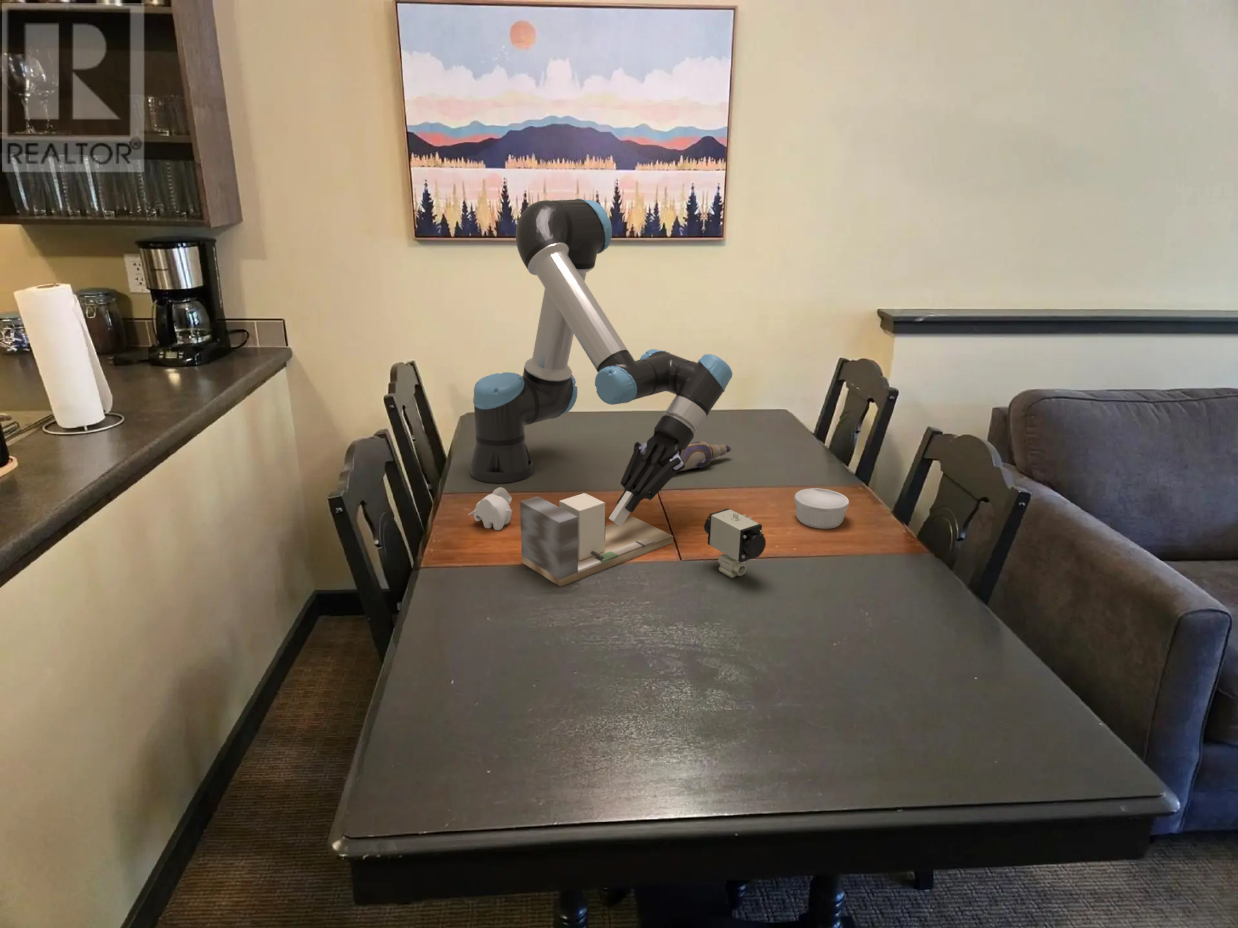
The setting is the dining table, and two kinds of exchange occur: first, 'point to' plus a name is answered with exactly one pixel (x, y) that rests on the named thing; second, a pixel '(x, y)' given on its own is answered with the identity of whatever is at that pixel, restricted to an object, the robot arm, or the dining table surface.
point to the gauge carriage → (588, 523)
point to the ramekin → (820, 507)
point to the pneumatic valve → (734, 540)
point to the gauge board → (613, 544)
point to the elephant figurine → (494, 509)
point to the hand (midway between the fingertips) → (614, 522)
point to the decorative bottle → (701, 454)
